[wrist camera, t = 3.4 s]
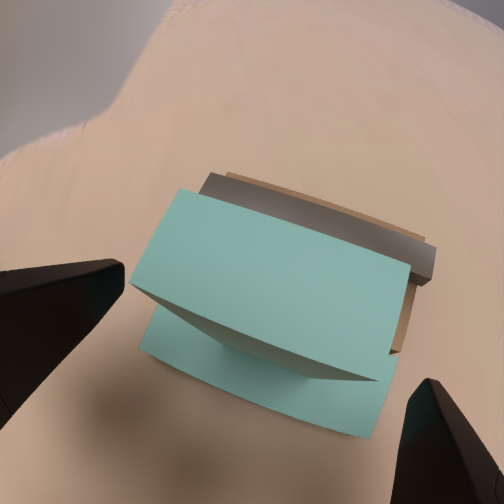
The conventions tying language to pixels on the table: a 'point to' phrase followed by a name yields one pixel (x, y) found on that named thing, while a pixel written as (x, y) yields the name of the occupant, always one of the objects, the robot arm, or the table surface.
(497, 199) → the table surface
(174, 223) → the teal t-shaped block
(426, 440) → the robot arm
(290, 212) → the board
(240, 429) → the table surface
